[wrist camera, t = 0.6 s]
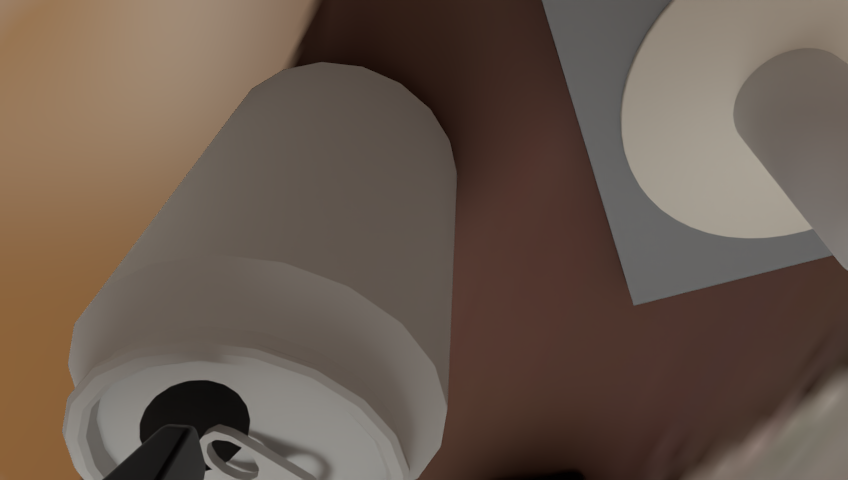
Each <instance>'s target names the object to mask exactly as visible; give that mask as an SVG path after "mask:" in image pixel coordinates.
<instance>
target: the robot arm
mask: <svg viewBox="0 0 848 480" xmlns="http://www.w3.org/2000/svg"><path fill="white" fill-rule="evenodd" d="M204 476H205V461H204V457H203V453H202V449H201V445H200V441H199V437H198V433H197V430H196V429H195V428H194V427H193V426H189V425H175V424H169V425H165V426H163V427H161V428H160V429H159V430H158V431H156V432H155V433H154V434H153V435H152V436H151V437H150V438H149V439H147V440H146V441H145V442H144V443H143V444H142V445H141V446H139V447H138V448H137V449H136V450H135V451H134V452H133V453H132V454H130V455H129V456H128V457H127V458H126V459H125V460H124V461H122V462H121V463H120V464H119V465H118V466H117V467H116V468H115V469H113V470H112V471H111V472H110V473H109V474H108V475H107V476H105V477H104V478H103V479H102V480H204ZM536 480H585V478H584V476H583V475H581V474H579V473H568V474H563V475H557V476H552V477H547V478H542V479H536Z"/></svg>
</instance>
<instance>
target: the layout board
mask: <svg viewBox="0 0 848 480" xmlns="http://www.w3.org/2000/svg"><path fill="white" fill-rule="evenodd" d="M542 3H543V7H544V10H545V13H546V17H547V20H548V23H549V27H550V30H551V33H552V37H553V40H554V43H555V47H556V50H557V53H558V57H559V60H560V63H561V67H562V70H563V73H564V76H565V80H566V83H567V86H568V90H569V93H570V96H571V100H572V103H573V106H574V110H575V113H576V116H577V120H578V123H579V126H580V130H581V133H582V136H583V140H584V143H585V146H586V150H587V153H588V156H589V159H590V163H591V166H592V169H593V173H594V176H595V179H596V183H597V186H598V189H599V193H600V196H601V199H602V203H603V206H604V209H605V213H606V216H607V219H608V223H609V226H610V229H611V232H612V236H613V239H614V242H615V246H616V249H617V252H618V256H619V259H620V262H621V266H622V269H623V272H624V276H625V279H626V282H627V286H628V289H629V292H630V295H631V298H632V301H633V304H634V305H638V304H642V303H646V302H650V301H654V300H658V299H662V298H666V297H670V296H674V295H678V294H682V293H686V292H690V291H693V290H697V289H701V288H705V287H709V286H713V285H717V284H721V283H725V282H729V281H733V280H737V279H741V278H745V277H749V276H753V275H756V274H760V273H764V272H768V271H772V270H776V269H780V268H784V267H788V266H792V265H796V264H800V263H804V262H808V261H812V260H816V259H820V258H823V257H827V256H831V255H834V256H835V258H836V259H837V260H838V261H839V263H840V264H841V265H842V266H843V267H844V268H845V269H846V270H848V0H542Z"/></svg>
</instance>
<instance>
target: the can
mask: <svg viewBox="0 0 848 480" xmlns="http://www.w3.org/2000/svg"><path fill="white" fill-rule="evenodd" d="M456 188H457V172H456V167H455V163H454V158H453V153H452V149H451V144H450V140H449V139H448V137H447V135H446V134H445V132H444V131H443V129H442V127H441V126H440V124H439V122H438V121H437V119H436V117H435V116H434V114H433V113H432V111H431V109H430V108H428V107H427V106H426V105H425V104H424V103H423V102H421V101H420V100H419V99H418V98H417V97H416V96H414V95H413V94H412V93H411V92H410V91H409V90H408V89H406V88H405V87H404V86H403V85H402V84H401V83H398V82H396V81H394V80H392V79H389V78H387V77H385V76H383V75H380V74H378V73H376V72H373V71H371V70H369V69H367V68H364V67H361V66H352V65H343V64H335V63H326V62H319V63H314V64H309V65H304V66H299V67H295V68H290V69H285V70H282V71H280V72H279V73H277V74H275V75H274V76H272V77H271V78H269V79H267V80H266V81H264V82H262V83H261V84H259V85H257V86H256V87H254V88H252V90H251V91H250V92H249V93H248V95H247V96H246V97H245V99H244V100H243V101H242V102H241V104H240V105H239V106H238V108H237V109H236V110H235V112H234V113H233V114H232V115H231V117H230V118H229V119H228V121H227V122H226V123H225V125H224V126H223V127H222V129H221V130H220V131H219V133H218V134H217V135H216V137H215V138H214V139H213V141H212V142H211V143H210V145H209V146H208V147H207V149H206V150H205V151H204V153H203V154H202V155H201V157H200V158H199V159H198V161H197V162H196V163H195V165H194V166H193V167H192V169H191V170H190V171H189V173H188V174H187V175H186V177H185V178H184V179H183V181H182V182H181V183H180V185H179V186H178V187H177V189H176V190H175V191H174V193H173V194H172V195H171V197H170V198H169V199H168V201H167V202H166V203H165V205H164V206H163V207H162V209H161V210H160V211H159V212H158V214H157V215H156V216H155V218H154V219H153V220H152V222H151V223H150V224H149V226H148V227H147V228H146V230H145V231H144V233H143V234H142V235H141V236H140V238H139V239H138V240H137V242H136V243H135V244H134V246H133V247H132V249H131V250H130V251H129V252H128V254H127V255H126V256H125V258H124V259H123V260H122V262H121V263H120V265H119V266H118V267H117V268H116V270H115V271H114V272H113V274H112V275H111V276H110V278H109V279H108V280H107V282H106V283H105V284H104V286H103V287H102V288H101V290H100V291H99V293H98V294H97V295H96V296H95V298H94V299H93V300H92V302H91V303H90V305H89V306H88V307H87V308H86V310H85V311H84V312H83V314H82V315H81V316H80V318H79V319H78V320H77V322H76V323H75V324H74V330H73V336H72V343H71V349H70V355H69V362H68V367H69V370H70V373H71V376H72V380H73V383H74V386H75V389H74V390H73V392H72V393H71V394H70V395H69V397H68V399H67V405H66V411H65V417H64V424H63V429H62V433H63V436H64V439H65V442H66V444H67V447H68V450H69V453H70V456H71V459H72V461H73V465H74V467H75V469H76V470H77V472H78V473H79V474H80V475H81V476H82V478H83V479H84V480H102V479H103V478H104V477H105V476H107V475H108V474H109V473H110V472H111V471H112V470H113V469H115V468H116V467H117V466H118V465H119V464H120V463H121V462H122V461H124V460H125V459H126V458H127V457H128V456H129V455H130V454H132V453H133V452H134V451H135V450H136V449H137V448H138V447H139V446H141V445H142V444H143V443H144V442H145V441H146V440H147V439H149V438H150V437H151V436H152V435H153V434H154V433H155V432H156V431H158V430H159V429H160V428H161V427H163V426H165V425H169V424H175V425H189V426H193V427H194V428H195V429H196V430H197V433H198V437H199V441H200V445H201V449H202V453H203V457H204V461H205V476H204V480H415V479H417V478H418V477H419V476H420V474H421V473H422V472H423V470H424V469H425V467H426V466H427V465H428V463H429V462H430V461H431V459H432V458H433V456H434V455H435V454H436V452H437V451H438V450H439V448H440V447H441V442H442V436H443V431H444V425H445V419H446V413H447V405H448V381H449V357H450V333H451V309H452V285H453V261H454V236H455V212H456Z"/></svg>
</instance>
